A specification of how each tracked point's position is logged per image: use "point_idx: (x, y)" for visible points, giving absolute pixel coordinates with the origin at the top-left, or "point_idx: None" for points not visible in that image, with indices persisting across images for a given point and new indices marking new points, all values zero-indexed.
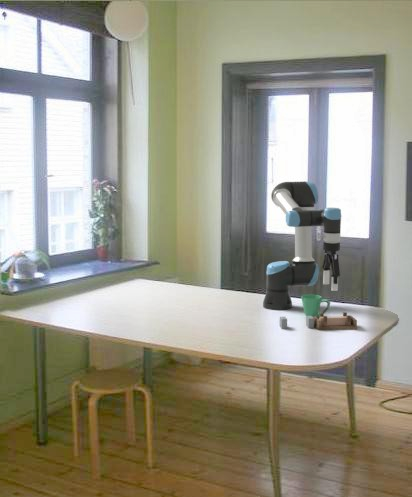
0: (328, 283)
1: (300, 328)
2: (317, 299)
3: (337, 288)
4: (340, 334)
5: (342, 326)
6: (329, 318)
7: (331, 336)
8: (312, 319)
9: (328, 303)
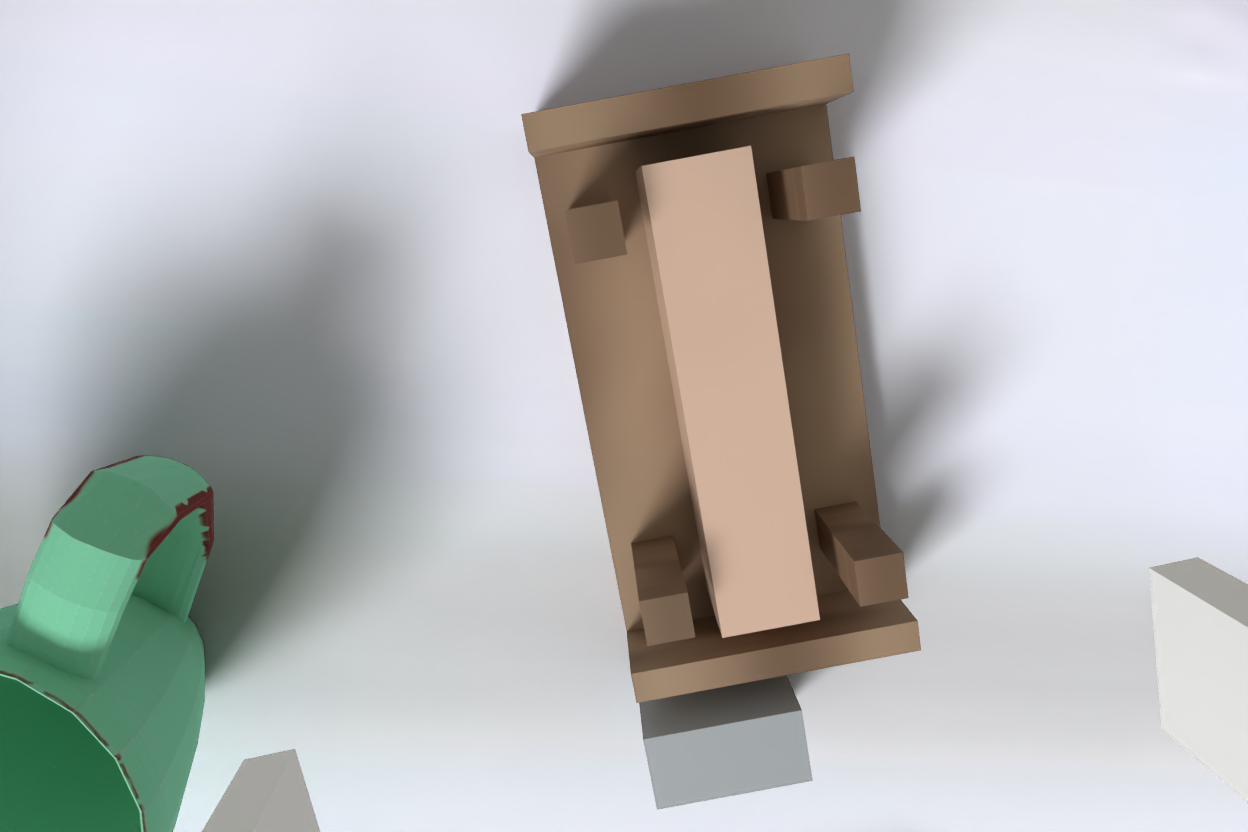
0: (293, 789)
1: (800, 797)
2: (111, 728)
3: (1245, 592)
4: (1096, 336)
5: (825, 285)
6: (800, 493)
7: (1188, 457)
8: (802, 722)
9: (172, 506)
